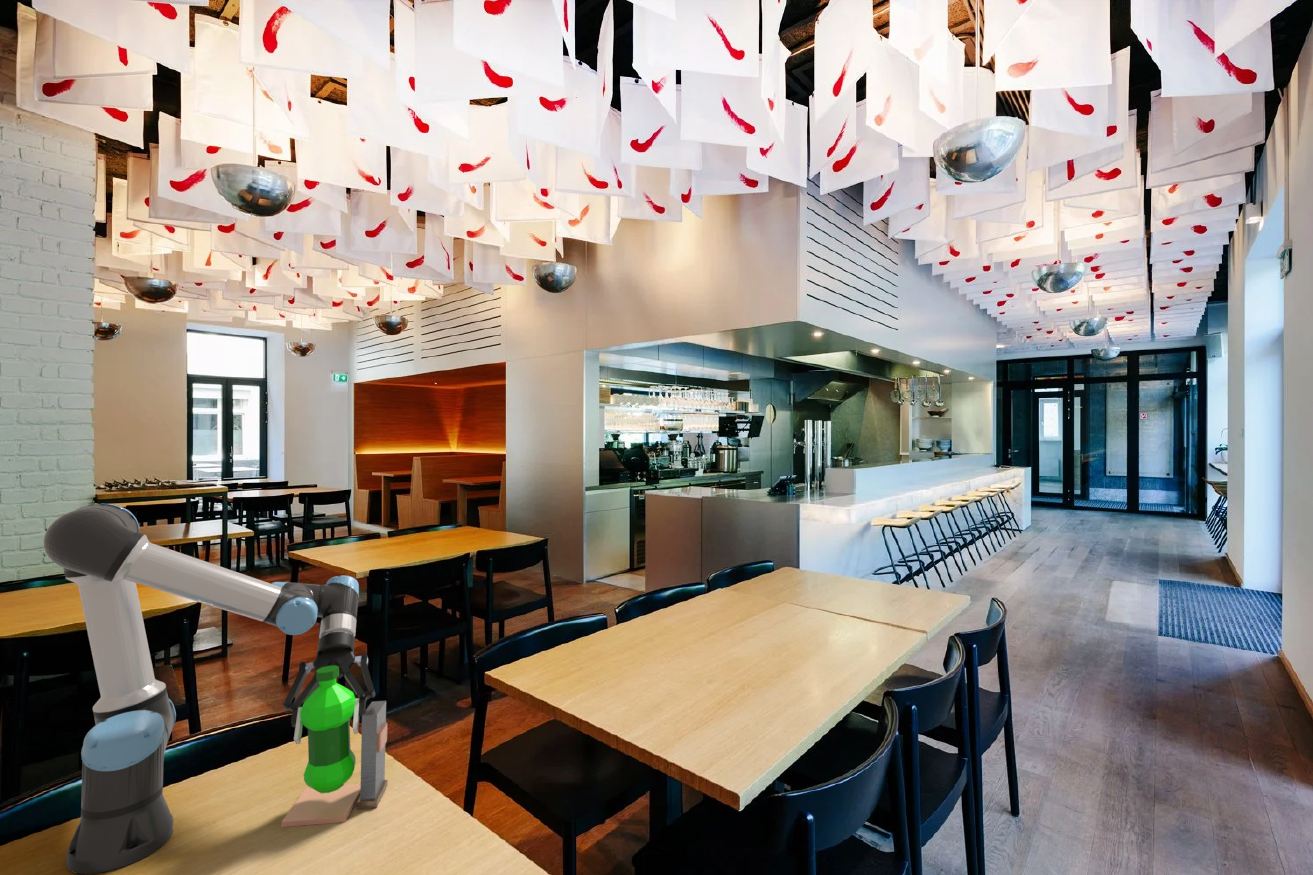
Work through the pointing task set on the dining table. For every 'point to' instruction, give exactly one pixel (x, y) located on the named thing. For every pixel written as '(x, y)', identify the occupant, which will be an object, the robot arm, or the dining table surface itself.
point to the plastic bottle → (328, 732)
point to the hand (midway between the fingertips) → (326, 736)
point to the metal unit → (373, 755)
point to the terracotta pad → (322, 806)
